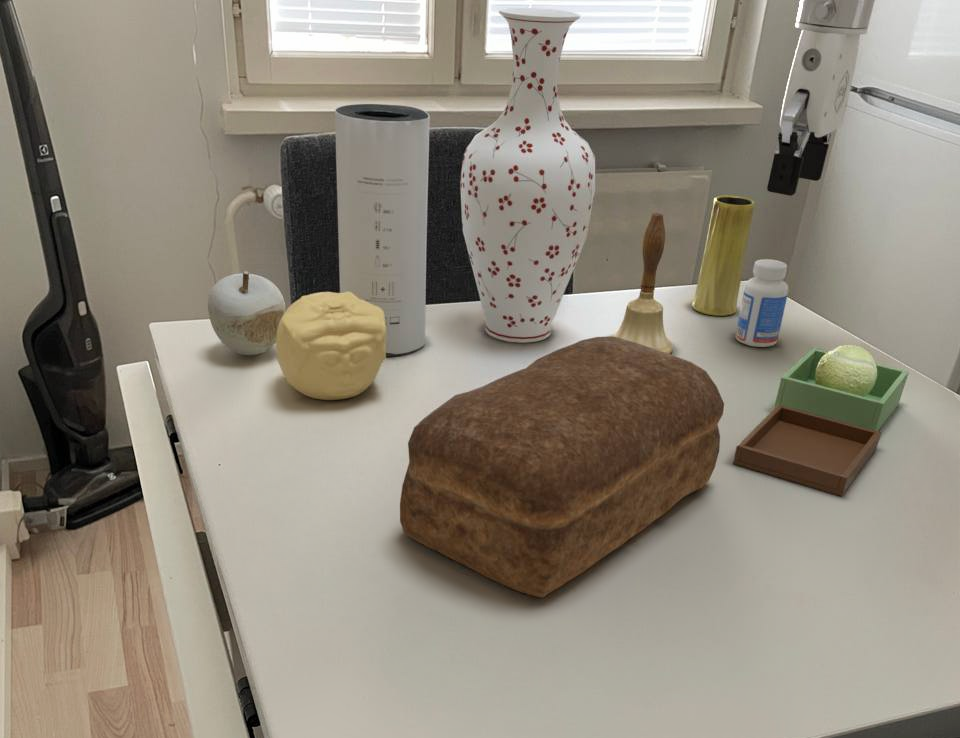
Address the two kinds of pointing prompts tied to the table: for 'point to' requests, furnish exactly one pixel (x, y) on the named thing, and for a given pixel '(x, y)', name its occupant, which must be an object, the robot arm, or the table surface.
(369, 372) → the sculpture
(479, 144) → the vase
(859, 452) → the walnut tray
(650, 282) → the hand bell
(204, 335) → the table surface
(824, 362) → the tennis ball
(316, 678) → the table surface
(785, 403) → the green bin
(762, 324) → the pill bottle
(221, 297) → the decorative object
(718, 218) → the vase
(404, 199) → the speaker
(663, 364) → the bread
